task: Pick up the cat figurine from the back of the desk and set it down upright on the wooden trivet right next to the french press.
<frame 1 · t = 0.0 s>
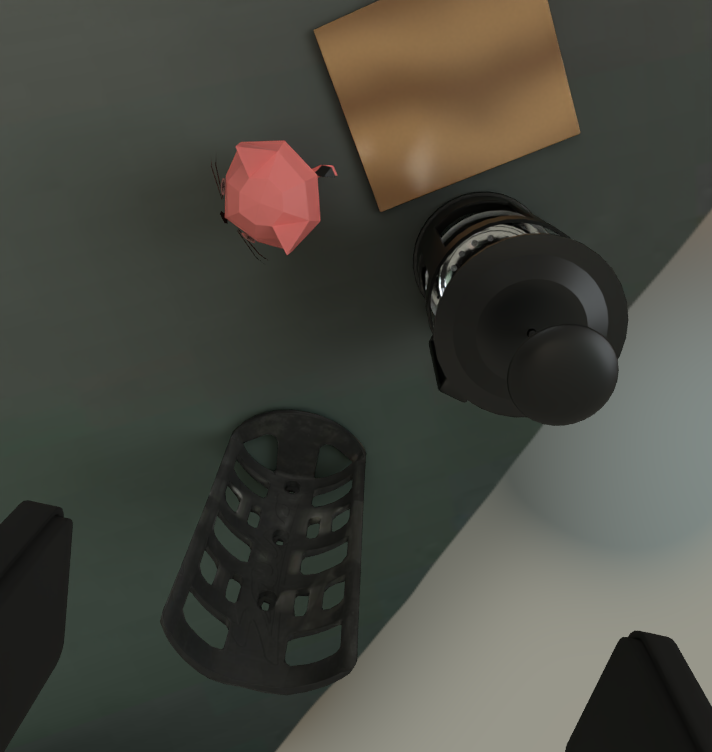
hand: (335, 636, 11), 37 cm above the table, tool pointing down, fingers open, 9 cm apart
french press: (474, 265, 46), on the table
holder: (300, 457, 52), on the table
cat figurine: (292, 182, 44), on the table
wooden trivet: (448, 83, 41), on the table
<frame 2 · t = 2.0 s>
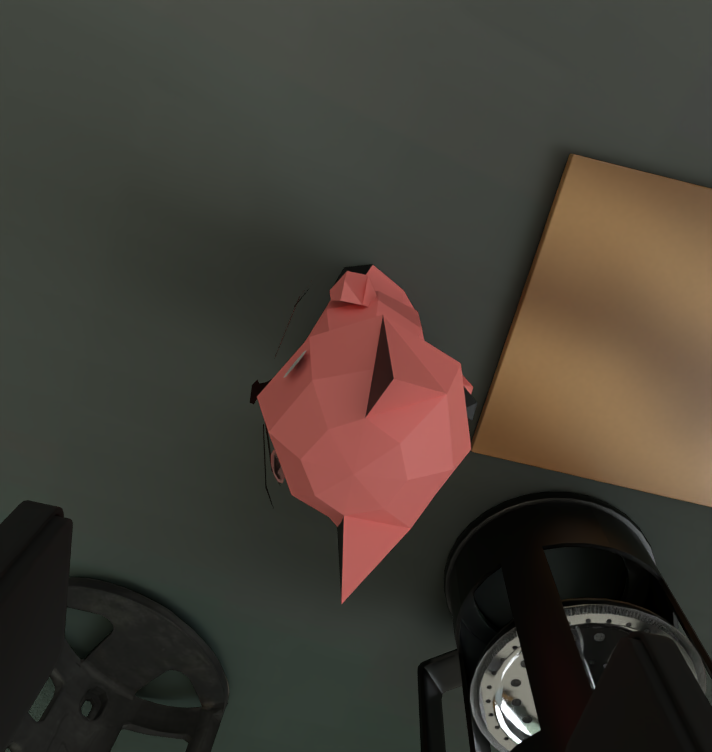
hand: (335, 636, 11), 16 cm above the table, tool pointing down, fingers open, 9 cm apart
french press: (535, 579, 29), on the table
holder: (132, 655, 33), on the table
cat figurine: (376, 329, 25), on the table
wooden trivet: (687, 354, 25), on the table
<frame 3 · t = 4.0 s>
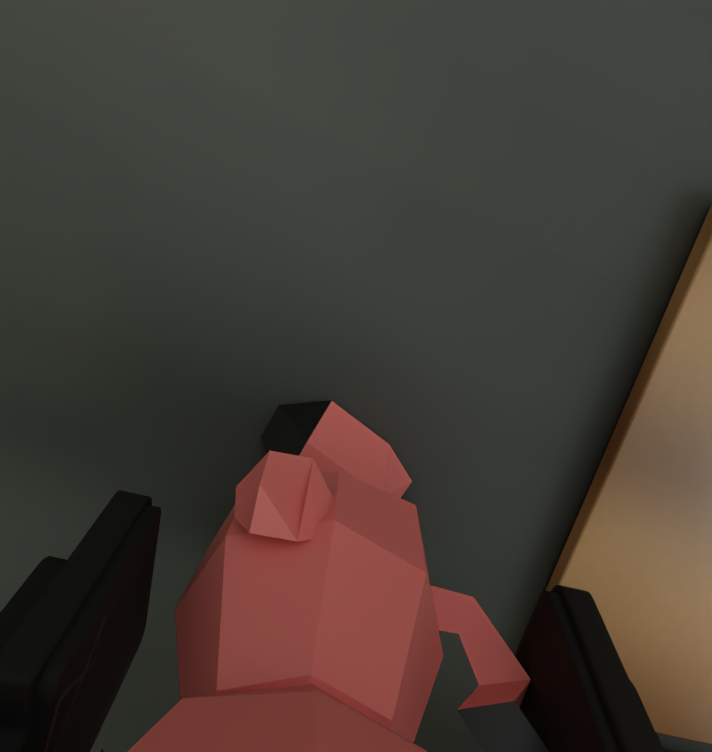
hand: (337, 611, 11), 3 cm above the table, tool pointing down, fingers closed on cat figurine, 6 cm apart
cat figurine: (342, 505, 14), on the table, touching gripper
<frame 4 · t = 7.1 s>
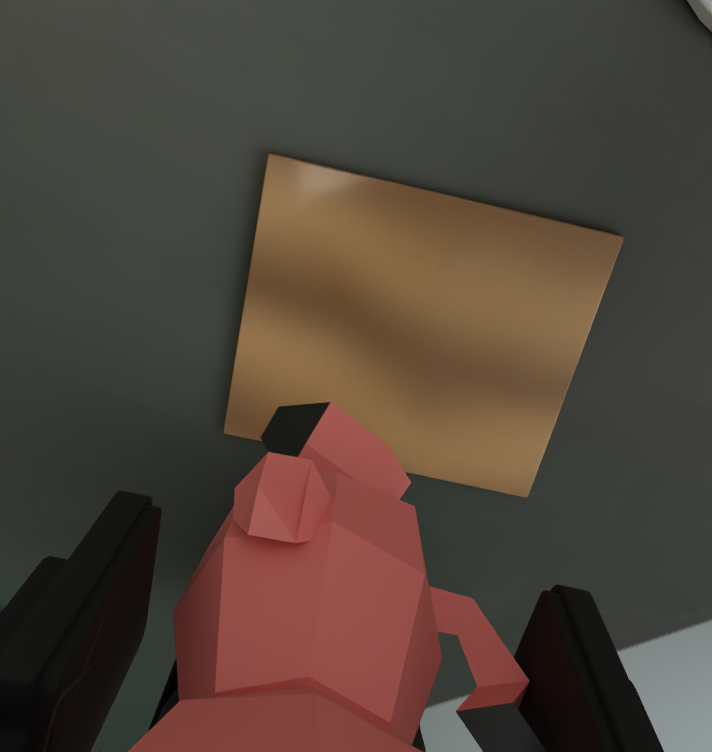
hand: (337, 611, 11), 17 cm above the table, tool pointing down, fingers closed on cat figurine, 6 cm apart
french press: (309, 556, 31), on the table
cat figurine: (341, 506, 14), point 13 cm above the table, touching gripper
wooden trivet: (409, 338, 27), on the table
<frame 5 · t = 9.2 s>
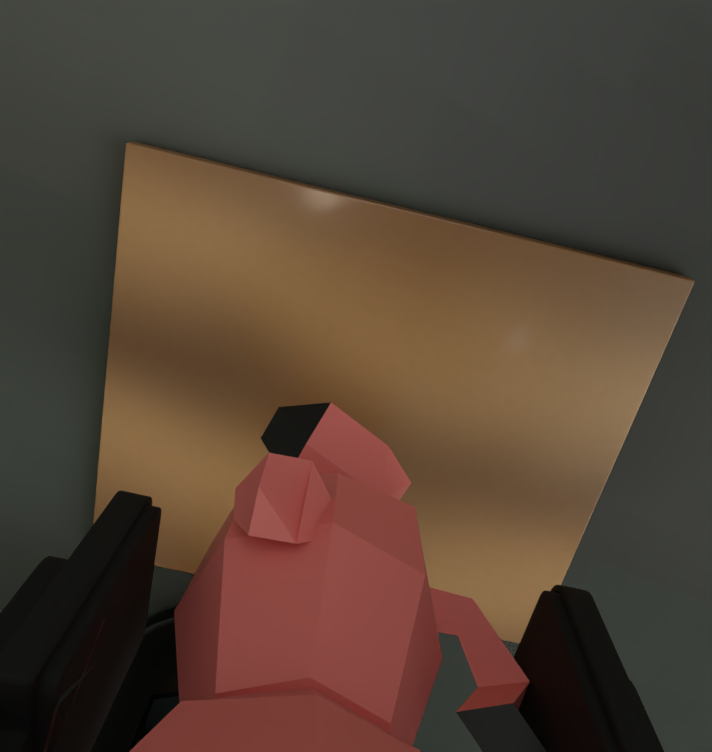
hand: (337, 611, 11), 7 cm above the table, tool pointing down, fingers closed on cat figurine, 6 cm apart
french press: (227, 706, 22), on the table
cat figurine: (341, 506, 14), point 4 cm above the table, touching gripper
wooden trivet: (360, 423, 18), on the table
when the fingers open (4 cm above the table, at t = 10.7 s): cat figurine stays where it is, resting on wooden trivet.
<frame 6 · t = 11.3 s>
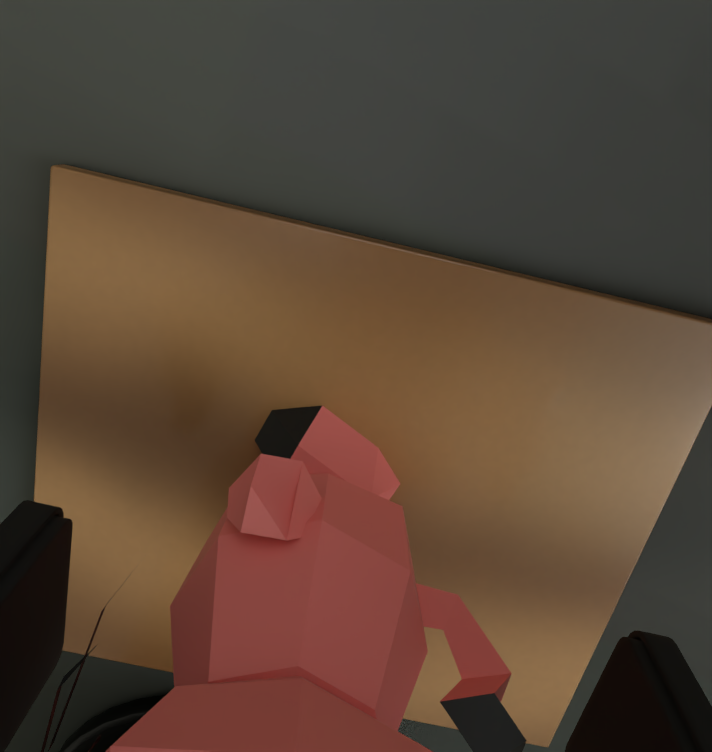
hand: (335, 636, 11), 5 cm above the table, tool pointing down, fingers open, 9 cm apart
cat figurine: (333, 506, 15), resting on wooden trivet
wooden trivet: (343, 495, 15), on the table
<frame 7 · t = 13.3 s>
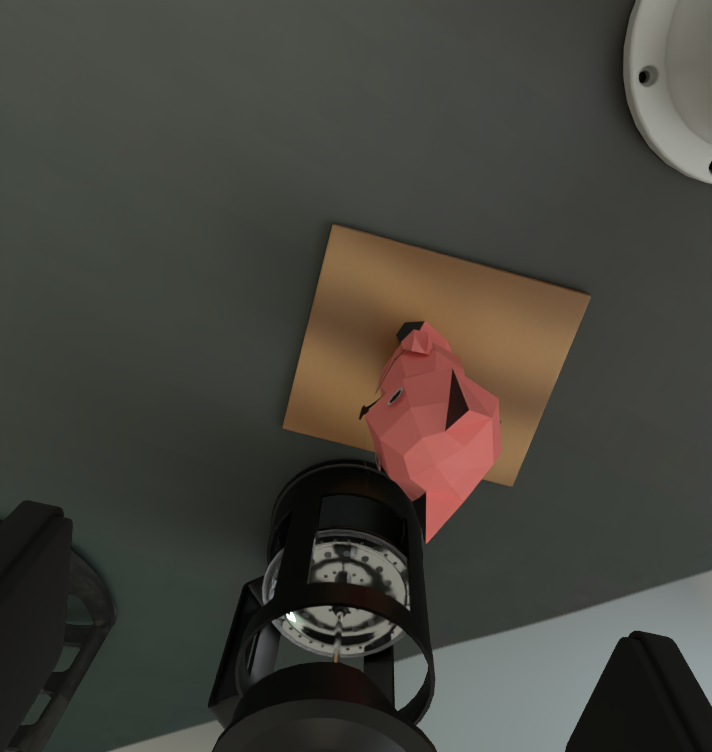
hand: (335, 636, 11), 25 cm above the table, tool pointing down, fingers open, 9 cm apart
french press: (340, 526, 40), on the table
holder: (41, 584, 42), on the table
cat figurine: (424, 366, 35), resting on wooden trivet
wooden trivet: (428, 362, 35), on the table
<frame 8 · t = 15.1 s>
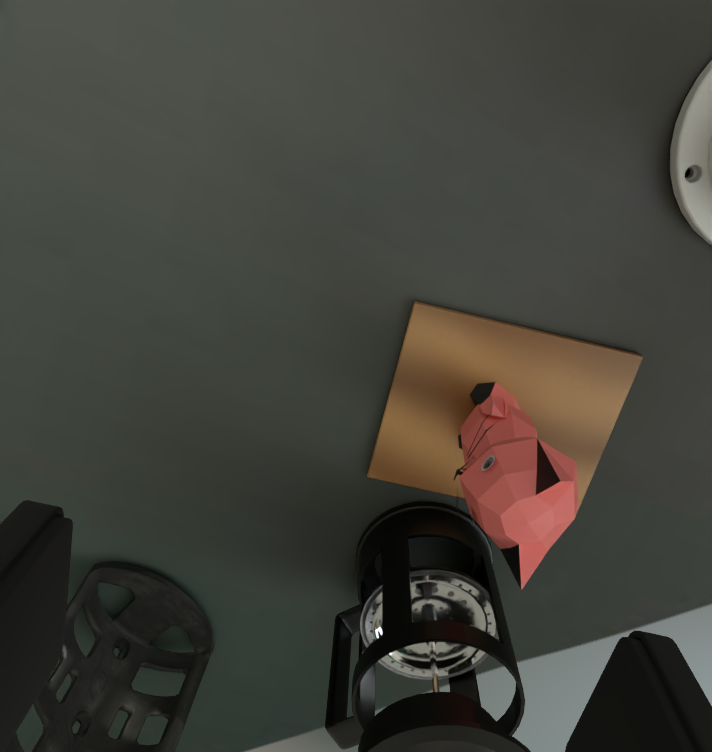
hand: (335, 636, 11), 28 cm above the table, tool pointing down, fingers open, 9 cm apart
french press: (417, 560, 44), on the table
holder: (146, 617, 47), on the table
cat figurine: (494, 420, 40), resting on wooden trivet
wooden trivet: (497, 416, 40), on the table
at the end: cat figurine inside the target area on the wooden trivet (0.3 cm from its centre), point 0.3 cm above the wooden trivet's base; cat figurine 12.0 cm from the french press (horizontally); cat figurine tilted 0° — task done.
